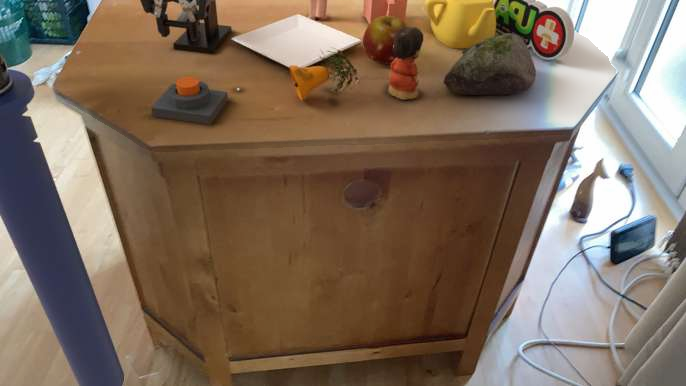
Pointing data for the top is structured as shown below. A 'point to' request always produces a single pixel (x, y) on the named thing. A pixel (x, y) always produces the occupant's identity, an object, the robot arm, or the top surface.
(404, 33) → the figurine
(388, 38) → the fruit
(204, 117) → the control block
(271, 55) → the plate
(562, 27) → the sign
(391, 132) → the top surface
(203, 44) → the switch bracket
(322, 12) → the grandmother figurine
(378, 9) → the pink blocky piece
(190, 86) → the button
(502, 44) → the stone
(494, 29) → the teapot
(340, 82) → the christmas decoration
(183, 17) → the switch lever
